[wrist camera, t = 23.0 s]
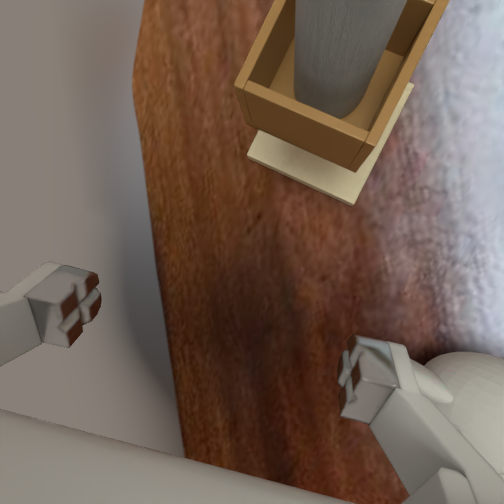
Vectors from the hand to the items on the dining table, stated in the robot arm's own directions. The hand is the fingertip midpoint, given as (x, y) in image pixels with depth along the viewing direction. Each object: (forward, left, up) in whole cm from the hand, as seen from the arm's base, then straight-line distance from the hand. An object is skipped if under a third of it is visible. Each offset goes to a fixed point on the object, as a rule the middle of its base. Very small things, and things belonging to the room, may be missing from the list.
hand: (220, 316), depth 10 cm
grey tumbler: (-2, +14, -11) cm, 18 cm away
